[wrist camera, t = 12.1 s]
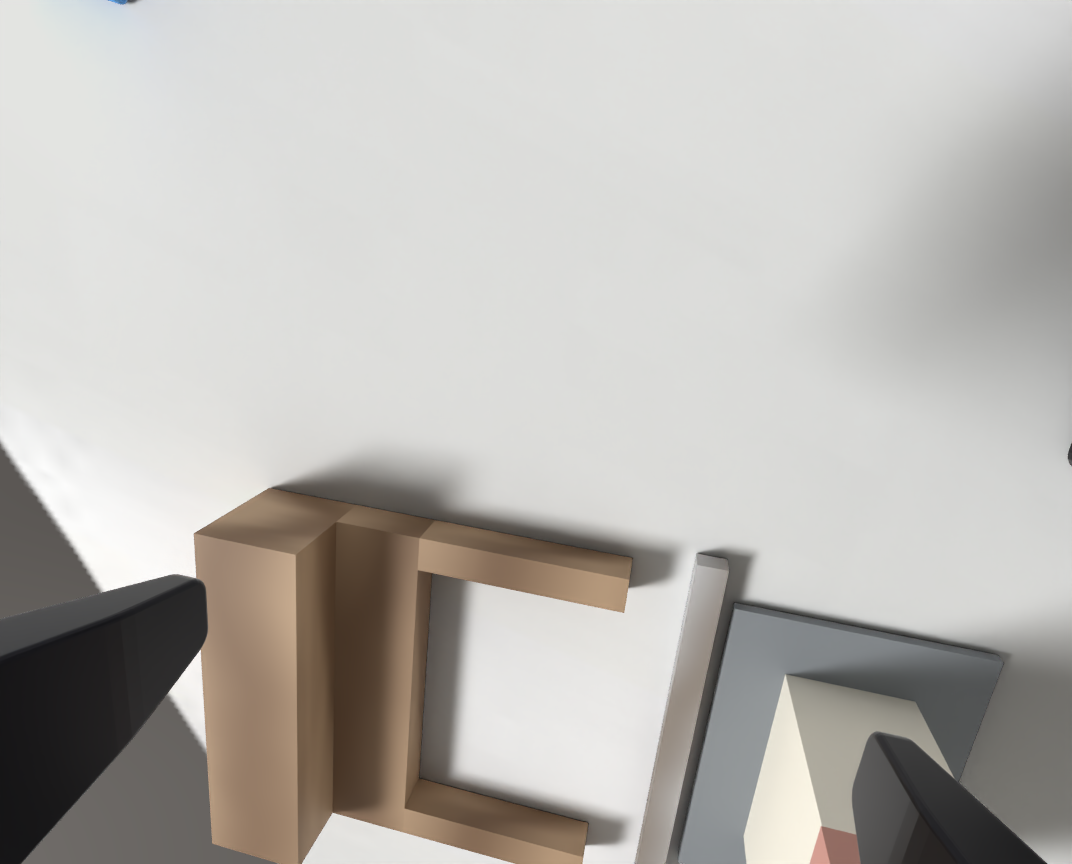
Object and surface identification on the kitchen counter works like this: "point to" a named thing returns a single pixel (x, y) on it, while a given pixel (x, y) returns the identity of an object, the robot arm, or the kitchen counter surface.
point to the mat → (827, 656)
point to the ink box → (119, 1)
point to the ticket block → (821, 770)
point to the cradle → (388, 676)
